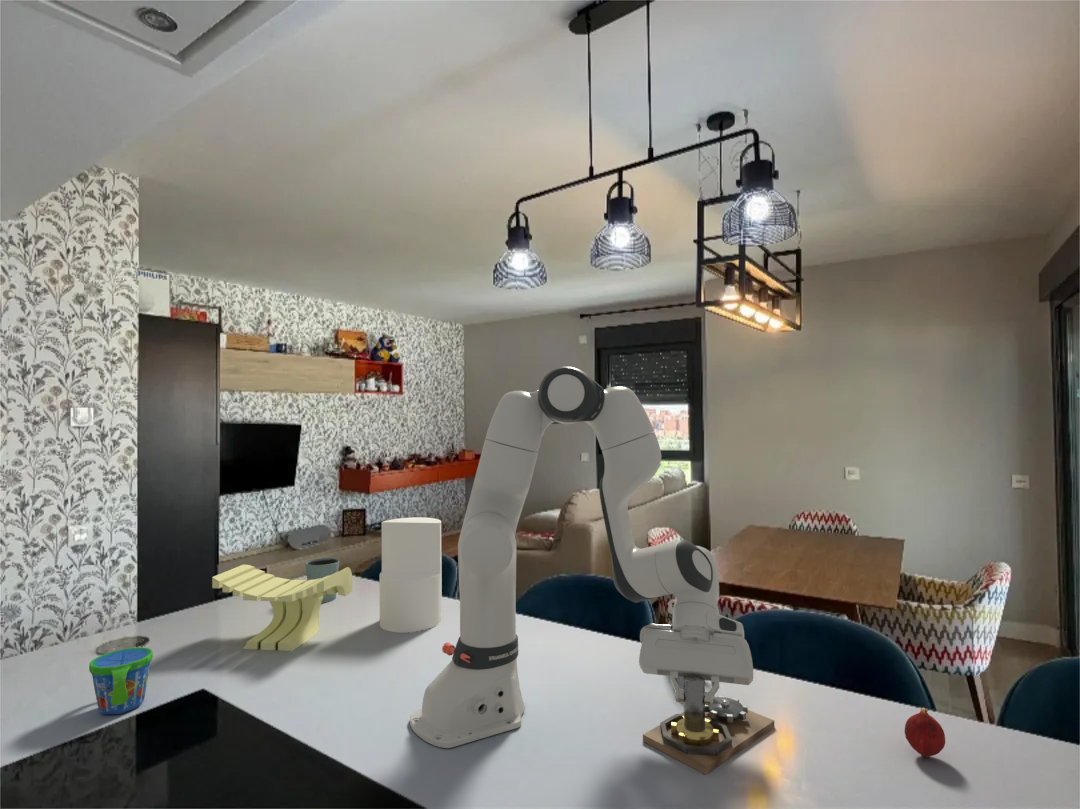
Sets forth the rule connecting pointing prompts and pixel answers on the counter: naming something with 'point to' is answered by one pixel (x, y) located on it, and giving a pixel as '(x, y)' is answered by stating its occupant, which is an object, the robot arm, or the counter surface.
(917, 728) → the onion
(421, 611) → the cylinder
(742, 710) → the gear
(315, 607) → the slatted curved stool
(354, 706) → the counter surface
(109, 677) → the snack cup
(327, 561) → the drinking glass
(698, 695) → the gear
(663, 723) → the gear board
